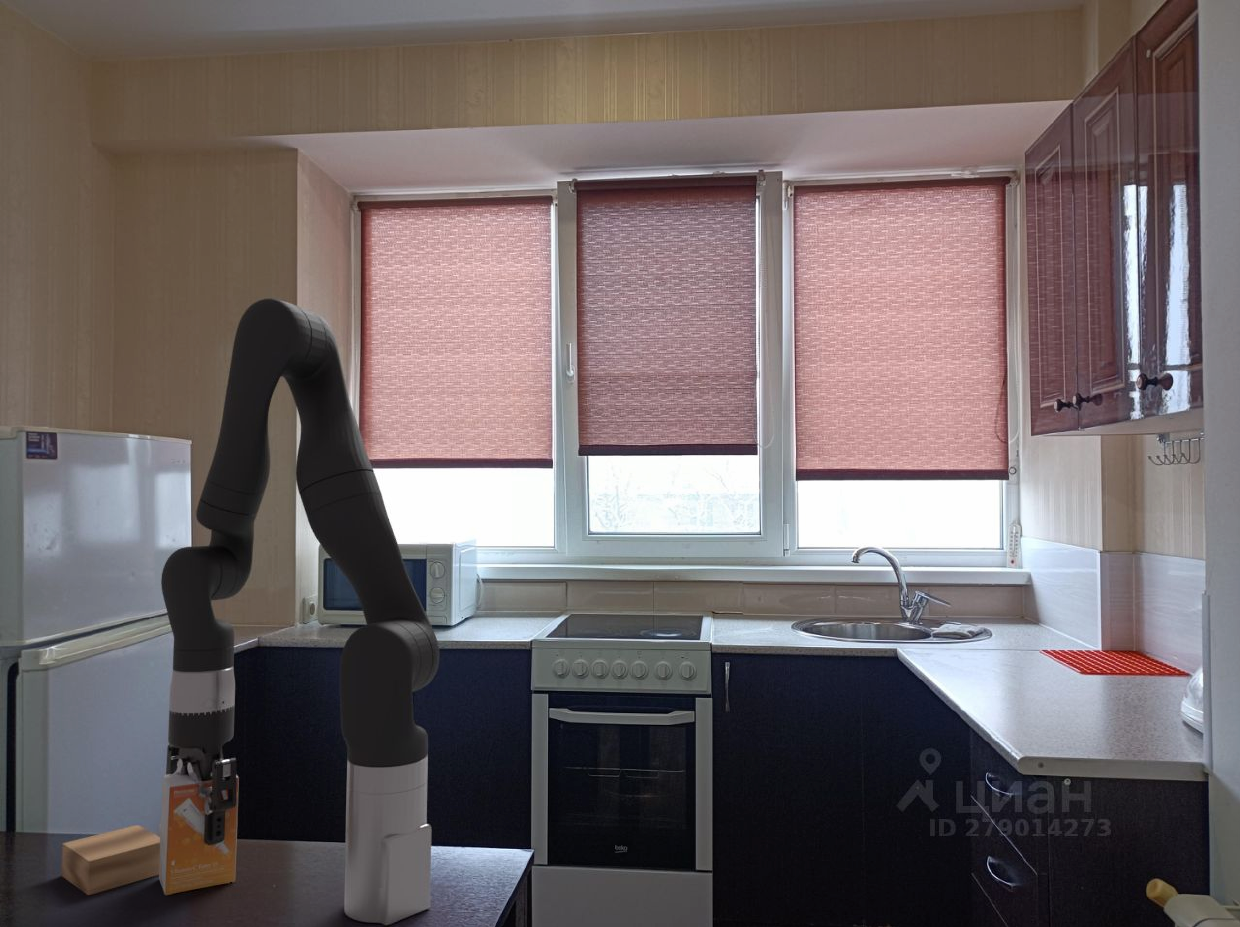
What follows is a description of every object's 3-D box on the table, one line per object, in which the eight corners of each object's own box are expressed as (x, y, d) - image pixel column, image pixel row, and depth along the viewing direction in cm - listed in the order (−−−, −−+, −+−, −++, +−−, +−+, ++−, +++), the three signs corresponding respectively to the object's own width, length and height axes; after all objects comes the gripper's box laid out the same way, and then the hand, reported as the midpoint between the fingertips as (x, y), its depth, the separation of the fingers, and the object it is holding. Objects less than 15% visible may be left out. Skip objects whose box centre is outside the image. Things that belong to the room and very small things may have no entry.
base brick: (165, 872, 114) (166, 840, 114) (88, 895, 107) (89, 861, 108) (136, 855, 120) (137, 824, 120) (61, 875, 113) (62, 843, 113)
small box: (164, 897, 107) (167, 786, 108) (158, 879, 112) (161, 773, 113) (236, 882, 111) (239, 776, 112) (227, 865, 117) (230, 764, 117)
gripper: (259, 707, 111) (255, 840, 110) (205, 692, 120) (202, 815, 120) (198, 717, 105) (194, 858, 105) (147, 700, 115) (143, 830, 114)
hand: (198, 835), depth 112 cm, fingers open, 8 cm apart
